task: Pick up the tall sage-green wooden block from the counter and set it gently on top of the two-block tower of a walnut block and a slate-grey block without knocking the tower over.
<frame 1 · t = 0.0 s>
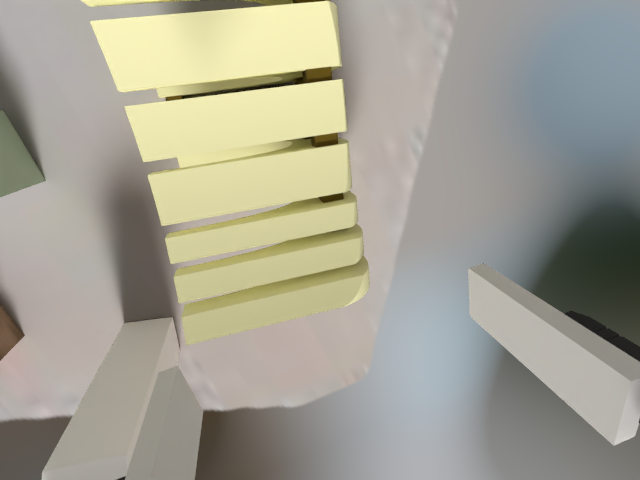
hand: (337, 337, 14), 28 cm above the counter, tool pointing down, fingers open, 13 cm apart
slatted curved stool: (246, 116, 36), on the counter
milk: (153, 336, 43), on the counter
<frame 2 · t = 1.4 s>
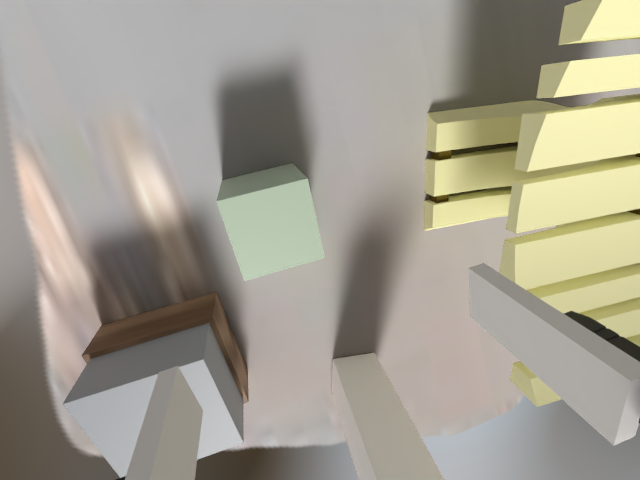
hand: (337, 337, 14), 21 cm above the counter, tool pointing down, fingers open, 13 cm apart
sage block: (267, 204, 32), on the counter
tower top: (173, 381, 32), point 5 cm above the counter
slatted curved stool: (487, 165, 37), on the counter
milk: (352, 371, 44), on the counter
tower base: (181, 347, 37), on the counter
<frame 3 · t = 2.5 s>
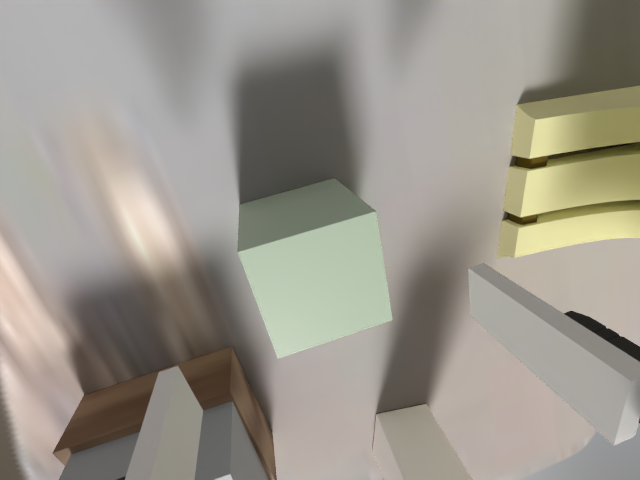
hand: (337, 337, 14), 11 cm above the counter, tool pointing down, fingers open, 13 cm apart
sage block: (299, 234, 24), on the counter
tower top: (183, 471, 24), point 5 cm above the counter, touching tower base
slatted curved stool: (584, 173, 28), on the counter
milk: (398, 425, 36), on the counter
tower base: (189, 413, 29), on the counter, touching tower top
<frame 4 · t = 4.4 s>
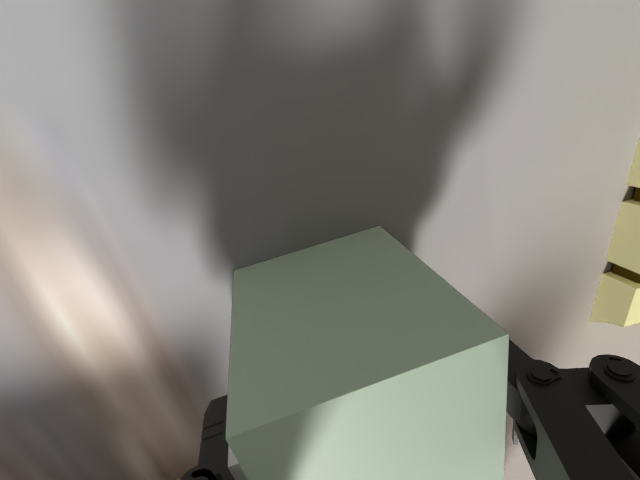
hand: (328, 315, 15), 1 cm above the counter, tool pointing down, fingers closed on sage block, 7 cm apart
sage block: (324, 308, 16), on the counter, touching gripper
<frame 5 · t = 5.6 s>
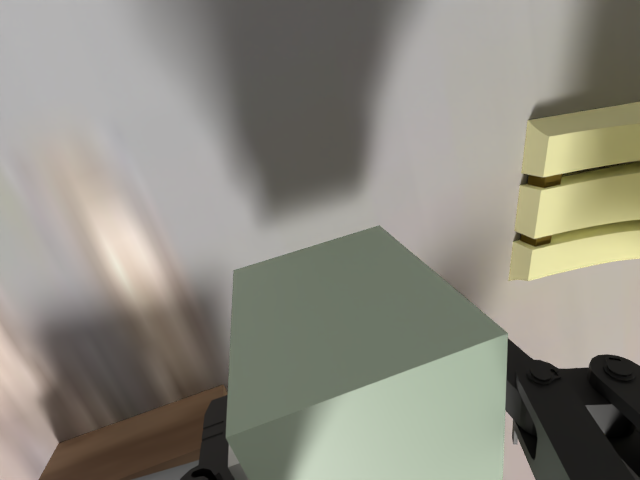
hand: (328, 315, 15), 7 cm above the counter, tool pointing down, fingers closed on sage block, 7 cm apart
sage block: (324, 307, 16), point 7 cm above the counter, touching gripper
slatted curved stool: (597, 190, 26), on the counter
tower base: (177, 457, 26), on the counter, touching tower top
when the fingers open (12 cm above the counter, at t = 11.4 s): sage block drops 2 cm, point 10 cm above the counter.
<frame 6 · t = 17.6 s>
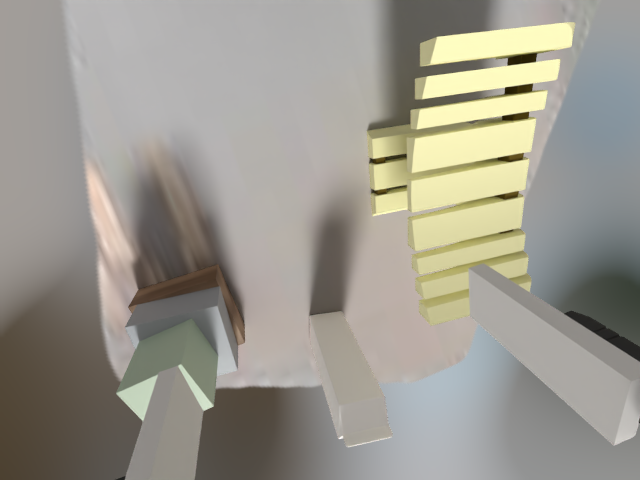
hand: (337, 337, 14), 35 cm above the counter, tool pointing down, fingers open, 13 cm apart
sage block: (180, 349, 41), point 10 cm above the counter
tower top: (191, 326, 46), point 5 cm above the counter, touching tower base
slatted curved stool: (416, 166, 50), on the counter
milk: (325, 325, 57), on the counter
tower base: (195, 307, 50), on the counter, touching tower top
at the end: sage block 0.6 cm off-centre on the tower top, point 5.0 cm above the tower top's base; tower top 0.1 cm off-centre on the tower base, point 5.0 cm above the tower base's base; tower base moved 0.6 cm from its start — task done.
